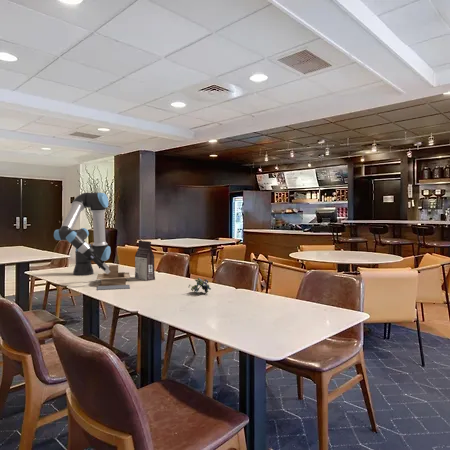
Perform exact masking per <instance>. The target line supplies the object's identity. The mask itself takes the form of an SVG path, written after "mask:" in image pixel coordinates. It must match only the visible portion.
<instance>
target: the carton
mask: <svg viewBox="0 0 450 450" xmlns="http://www.w3.org/2000/svg"><path fill="white" fill-rule="evenodd" d="M130 278H131V275H130V272H124V271H122V272H119V271H118V278H109V274H107V273H105V272H102V273H97V276H96V280H101V281H100V282H101V285H100V286H112V285H127V284H126V283H127V281H126V280H127V279H130Z"/></svg>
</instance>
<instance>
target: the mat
mask: <svg viewBox="0 0 450 450" xmlns="http://www.w3.org/2000/svg"><path fill="white" fill-rule="evenodd" d="M126 289H127V290H128V289H129V290H130V289H131V286H130V284H126V285H112V286H101V285H97V288H96V290H97V291H108V290H109V291H110V290H111V291H112V290H126Z"/></svg>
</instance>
